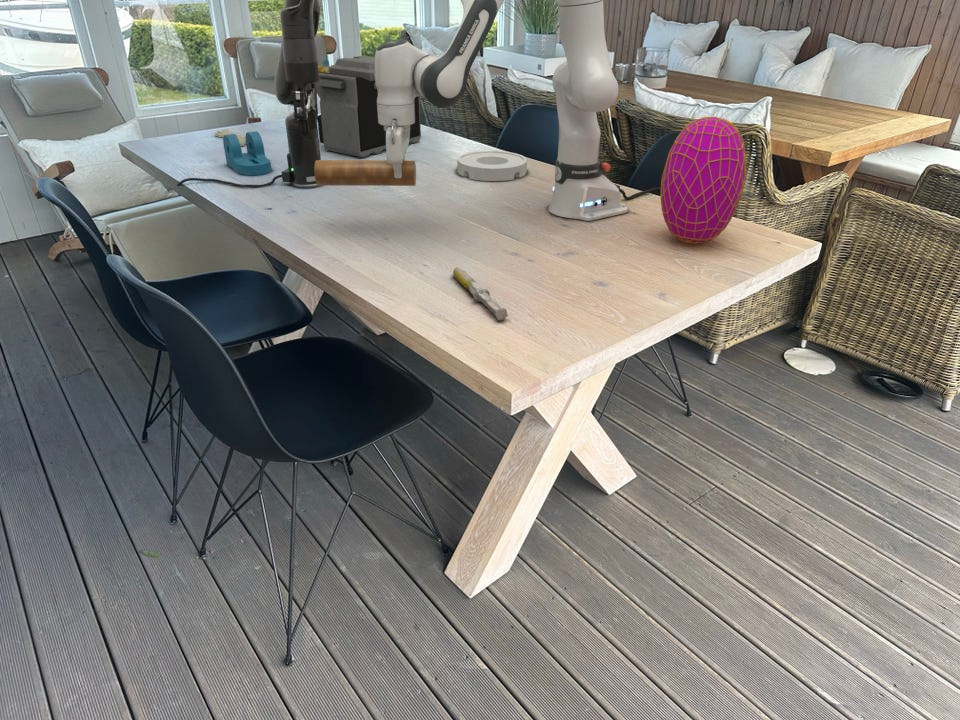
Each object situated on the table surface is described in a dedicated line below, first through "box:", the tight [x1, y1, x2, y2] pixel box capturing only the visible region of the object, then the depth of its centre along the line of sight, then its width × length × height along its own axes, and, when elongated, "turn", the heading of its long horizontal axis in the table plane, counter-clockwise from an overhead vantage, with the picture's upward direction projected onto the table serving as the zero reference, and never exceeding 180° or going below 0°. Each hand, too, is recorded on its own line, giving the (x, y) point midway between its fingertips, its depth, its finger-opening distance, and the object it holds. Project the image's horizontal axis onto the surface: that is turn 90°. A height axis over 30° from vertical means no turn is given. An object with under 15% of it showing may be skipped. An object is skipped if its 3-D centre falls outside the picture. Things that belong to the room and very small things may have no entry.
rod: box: [314, 159, 417, 187], centre depth 170 cm, size 24×6×6 cm, turn 90°
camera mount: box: [222, 131, 272, 176], centre depth 226 cm, size 18×10×10 cm, turn 35°
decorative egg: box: [659, 116, 747, 244], centre depth 167 cm, size 19×19×30 cm
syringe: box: [452, 266, 509, 321], centre depth 145 cm, size 25×4×3 cm, turn 21°
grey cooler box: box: [315, 55, 422, 159], centre depth 250 cm, size 37×22×30 cm, turn 144°
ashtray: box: [456, 150, 528, 182], centre depth 228 cm, size 23×23×4 cm
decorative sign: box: [214, 129, 246, 147], centre depth 266 cm, size 26×1×10 cm
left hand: (308, 132), depth 165 cm, fingers open, 8 cm apart
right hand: (399, 173), depth 170 cm, fingers closed on rod, 6 cm apart
